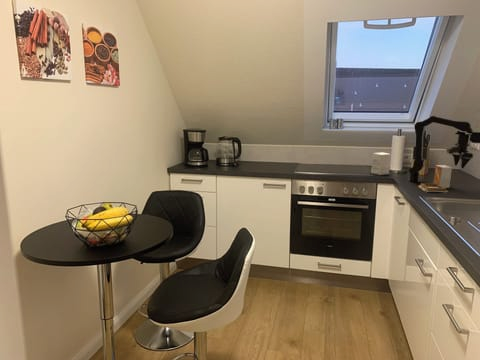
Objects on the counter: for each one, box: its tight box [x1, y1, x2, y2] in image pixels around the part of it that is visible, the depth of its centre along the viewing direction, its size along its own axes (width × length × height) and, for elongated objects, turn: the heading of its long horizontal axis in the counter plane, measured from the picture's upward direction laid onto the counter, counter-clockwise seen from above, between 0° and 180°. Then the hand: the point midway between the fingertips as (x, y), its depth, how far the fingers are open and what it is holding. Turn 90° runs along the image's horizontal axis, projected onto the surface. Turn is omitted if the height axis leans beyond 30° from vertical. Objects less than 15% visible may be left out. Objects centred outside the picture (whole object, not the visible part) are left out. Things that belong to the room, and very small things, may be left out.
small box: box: [432, 164, 453, 189], centre depth 236 cm, size 8×6×13 cm
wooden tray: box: [418, 182, 448, 193], centre depth 227 cm, size 14×12×2 cm
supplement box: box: [370, 151, 392, 176], centre depth 272 cm, size 9×9×15 cm
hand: (458, 166), depth 233 cm, fingers open, 9 cm apart
